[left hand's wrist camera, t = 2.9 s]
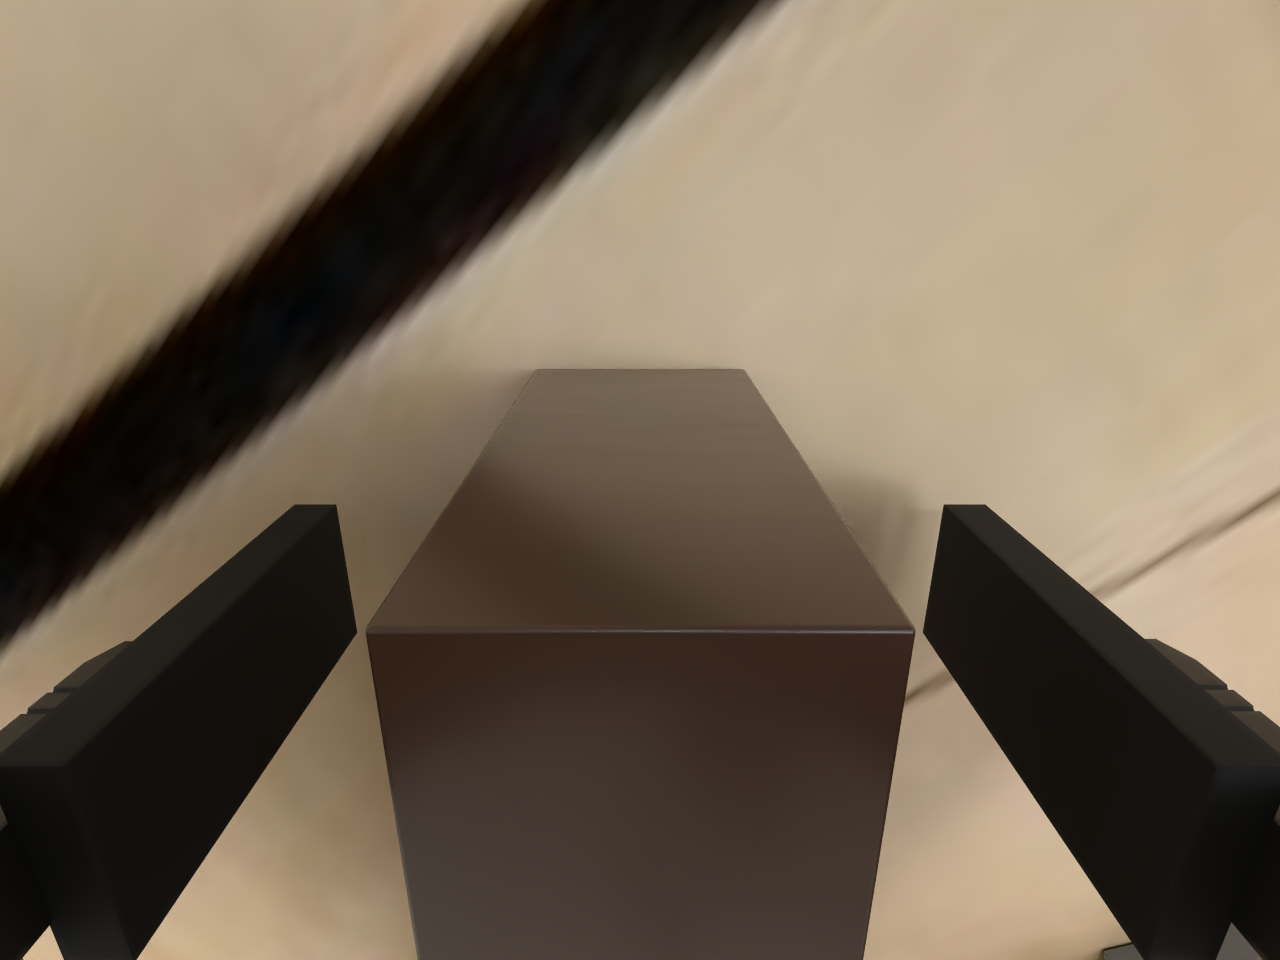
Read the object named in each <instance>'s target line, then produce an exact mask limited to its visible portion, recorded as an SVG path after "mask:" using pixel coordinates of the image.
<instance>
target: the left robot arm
mask: <svg viewBox="0 0 1280 960" xmlns="http://www.w3.org/2000/svg"><path fill="white" fill-rule="evenodd" d="M356 633H357V629H356V623H355V616H354V610H353V604H352V598H351V592H350V586H349V580H348V574H347V568H346V562H345V555H344V549H343V543H342V537H341V531H340V525H339V519H338V513H337V507H336V505H294V506H293V507H291V508H290V509H289V510H288V511H287V512H285V513H284V514H283V515H282V516H281V517H280V518H278V519H277V520H276V521H275V522H274V523H272V524H271V525H270V526H269V527H268V528H267V529H265V530H264V531H263V532H262V533H261V534H259V535H258V536H257V537H256V538H255V539H254V540H252V541H251V542H250V543H249V544H248V545H246V546H245V547H244V548H243V549H242V550H240V551H239V552H238V553H237V554H236V555H235V556H233V557H232V558H231V559H230V560H229V561H227V562H226V563H225V564H224V565H223V566H222V567H220V568H219V569H218V570H217V571H216V572H214V573H213V574H212V575H211V576H210V577H209V578H207V579H206V580H205V581H204V582H203V583H201V584H200V585H199V586H198V587H197V588H195V589H194V590H193V591H192V592H191V593H190V594H188V595H187V596H186V597H185V598H184V599H182V600H181V601H180V602H179V603H178V604H177V605H175V606H174V607H173V608H172V609H171V610H169V611H168V612H167V613H166V614H165V615H164V616H162V617H161V618H160V619H159V620H158V621H156V622H155V623H154V624H153V625H152V626H150V627H149V628H148V629H147V630H146V631H145V632H143V633H142V634H141V635H140V636H139V637H137V638H136V639H135V640H134V641H125V642H123V643H121V644H119V645H117V646H115V647H113V648H112V649H110V650H108V651H106V652H104V653H102V654H100V655H98V656H96V657H94V658H92V659H91V660H89V661H87V662H85V663H84V664H82V665H81V666H80V667H79V668H77V669H76V670H75V671H74V672H72V673H71V674H70V675H69V676H67V677H66V678H65V679H64V680H62V681H61V682H60V683H59V684H58V685H56V686H55V687H54V691H53V693H46V694H45V695H44V696H43V697H41V698H40V699H39V700H38V701H37V702H35V703H34V704H33V705H32V706H30V707H29V708H28V712H27V714H20V715H19V716H18V717H17V718H16V719H14V720H13V721H12V722H11V723H9V724H8V725H7V726H6V727H4V728H3V729H2V730H1V731H0V960H23V957H24V955H25V954H26V953H27V952H28V951H29V949H30V948H31V947H32V946H33V945H34V943H35V942H36V941H37V940H38V938H39V937H40V936H41V935H42V934H43V932H44V931H45V930H46V929H47V928H48V926H49V925H50V927H51V929H52V932H53V934H54V937H55V939H56V941H57V944H58V946H59V949H60V951H61V954H62V956H63V958H64V960H137V958H138V957H139V955H140V954H141V952H142V951H143V949H144V948H145V946H146V945H147V943H148V942H149V940H150V939H151V937H152V936H153V934H154V933H155V931H156V930H157V928H158V927H159V926H160V924H161V923H162V921H163V920H164V918H165V917H166V915H167V914H168V912H169V911H170V909H171V908H172V906H173V905H174V903H175V902H176V900H177V899H178V897H179V896H180V894H181V893H182V891H183V890H184V888H185V887H186V886H187V884H188V883H189V881H190V880H191V878H192V877H193V875H194V874H195V872H196V871H197V869H198V868H199V866H200V865H201V863H202V862H203V860H204V859H205V857H206V856H207V854H208V853H209V851H210V850H211V848H212V847H213V845H214V844H215V843H216V841H217V840H218V838H219V837H220V835H221V834H222V832H223V831H224V829H225V828H226V826H227V825H228V823H229V822H230V820H231V819H232V817H233V816H234V814H235V813H236V811H237V810H238V808H239V807H240V805H241V804H242V802H243V801H244V800H245V798H246V797H247V795H248V794H249V792H250V791H251V789H252V788H253V786H254V785H255V783H256V782H257V780H258V779H259V777H260V776H261V774H262V773H263V771H264V770H265V768H266V767H267V765H268V764H269V762H270V761H271V759H272V758H273V757H274V755H275V754H276V752H277V751H278V749H279V748H280V746H281V745H282V743H283V742H284V740H285V739H286V737H287V736H288V734H289V733H290V731H291V730H292V728H293V727H294V725H295V724H296V722H297V721H298V719H299V718H300V716H301V715H302V714H303V712H304V711H305V709H306V708H307V706H308V705H309V703H310V702H311V700H312V699H313V697H314V696H315V694H316V693H317V691H318V690H319V688H320V687H321V685H322V684H323V682H324V681H325V679H326V678H327V676H328V675H329V673H330V672H331V671H332V669H333V668H334V666H335V665H336V663H337V662H338V660H339V659H340V657H341V656H342V654H343V653H344V651H345V650H346V648H347V647H348V645H349V644H350V642H351V641H352V639H353V638H354V636H355V635H356ZM923 633H924V635H925V636H926V638H927V639H928V641H929V642H930V644H931V645H932V647H933V648H934V650H935V651H936V653H937V654H938V656H939V657H940V659H941V660H942V662H943V663H944V665H945V666H946V668H947V669H948V670H949V672H950V673H951V675H952V676H953V678H954V679H955V681H956V682H957V684H958V685H959V687H960V688H961V690H962V691H963V693H964V694H965V696H966V697H967V699H968V700H969V702H970V703H971V705H972V706H973V708H974V709H975V711H976V712H977V713H978V715H979V716H980V718H981V719H982V721H983V722H984V724H985V725H986V727H987V728H988V730H989V731H990V733H991V734H992V736H993V737H994V739H995V740H996V742H997V743H998V745H999V746H1000V748H1001V749H1002V751H1003V752H1004V754H1005V755H1006V756H1007V758H1008V759H1009V761H1010V762H1011V764H1012V765H1013V767H1014V768H1015V770H1016V771H1017V773H1018V774H1019V776H1020V777H1021V779H1022V780H1023V782H1024V783H1025V785H1026V786H1027V788H1028V789H1029V791H1030V792H1031V794H1032V795H1033V797H1034V798H1035V799H1036V801H1037V802H1038V804H1039V805H1040V807H1041V808H1042V810H1043V811H1044V813H1045V814H1046V816H1047V817H1048V819H1049V820H1050V822H1051V823H1052V825H1053V826H1054V828H1055V829H1056V831H1057V832H1058V834H1059V835H1060V837H1061V838H1062V840H1063V841H1064V842H1065V844H1066V845H1067V847H1068V848H1069V850H1070V851H1071V853H1072V854H1073V856H1074V857H1075V859H1076V860H1077V862H1078V863H1079V865H1080V866H1081V868H1082V869H1083V871H1084V872H1085V874H1086V875H1087V877H1088V878H1089V880H1090V881H1091V883H1092V884H1093V885H1094V887H1095V888H1096V890H1097V891H1098V893H1099V894H1100V896H1101V897H1102V899H1103V900H1104V902H1105V903H1106V905H1107V906H1108V908H1109V909H1110V911H1111V912H1112V914H1113V915H1114V917H1115V918H1116V920H1117V921H1118V923H1119V924H1120V926H1121V927H1122V928H1123V930H1124V931H1125V933H1126V934H1127V936H1128V937H1129V939H1130V940H1131V942H1132V943H1133V945H1134V946H1135V948H1136V949H1137V951H1138V952H1139V954H1140V955H1141V957H1142V958H1143V960H1216V958H1217V956H1218V954H1219V951H1220V949H1221V946H1222V944H1223V941H1224V939H1225V937H1226V934H1227V932H1228V929H1229V927H1230V924H1231V922H1232V924H1233V925H1234V926H1235V927H1236V928H1237V930H1238V931H1239V932H1240V933H1241V934H1242V936H1243V937H1244V938H1245V939H1246V940H1247V942H1248V943H1249V944H1250V945H1251V946H1252V948H1253V949H1254V950H1255V951H1256V952H1257V954H1258V955H1259V956H1258V958H1257V960H1280V727H1279V726H1278V725H1276V724H1275V723H1274V722H1273V721H1271V720H1270V719H1269V718H1268V717H1266V716H1265V715H1264V714H1263V713H1261V712H1260V711H1254V709H1253V705H1252V704H1250V703H1249V702H1248V701H1247V700H1245V699H1244V698H1243V697H1242V696H1240V695H1239V694H1238V693H1237V692H1235V691H1234V690H1228V688H1227V684H1225V683H1224V682H1223V681H1222V680H1220V679H1219V678H1218V677H1217V676H1215V675H1214V674H1213V673H1212V672H1210V671H1209V670H1208V669H1207V668H1205V667H1204V666H1203V665H1202V664H1200V663H1199V662H1198V661H1197V660H1195V659H1193V658H1191V657H1189V656H1187V655H1186V654H1184V653H1182V652H1180V651H1178V650H1176V649H1174V648H1172V647H1170V646H1168V645H1166V644H1164V643H1162V642H1161V641H1159V640H1157V639H1144V638H1143V637H1141V636H1140V635H1139V634H1138V633H1137V632H1135V631H1134V630H1133V629H1132V628H1131V627H1130V626H1128V625H1127V624H1126V623H1125V622H1124V621H1122V620H1121V619H1120V618H1119V617H1118V616H1116V615H1115V614H1114V613H1113V612H1112V611H1111V610H1109V609H1108V608H1107V607H1106V606H1105V605H1103V604H1102V603H1101V602H1100V601H1099V600H1098V599H1096V598H1095V597H1094V596H1093V595H1092V594H1090V593H1089V592H1088V591H1087V590H1086V589H1085V588H1083V587H1082V586H1081V585H1080V584H1079V583H1077V582H1076V581H1075V580H1074V579H1073V578H1071V577H1070V576H1069V575H1068V574H1067V573H1066V572H1064V571H1063V570H1062V569H1061V568H1060V567H1058V566H1057V565H1056V564H1055V563H1054V562H1053V561H1051V560H1050V559H1049V558H1048V557H1047V556H1045V555H1044V554H1043V553H1042V552H1041V551H1040V550H1038V549H1037V548H1036V547H1035V546H1034V545H1032V544H1031V543H1030V542H1029V541H1028V540H1027V539H1025V538H1024V537H1023V536H1022V535H1021V534H1019V533H1018V532H1017V531H1016V530H1015V529H1013V528H1012V527H1011V526H1010V525H1009V524H1008V523H1006V522H1005V521H1004V520H1003V519H1002V518H1000V517H999V516H998V515H997V514H996V513H995V512H993V511H992V510H991V509H990V508H989V507H987V506H986V505H944V507H943V513H942V519H941V525H940V531H939V537H938V543H937V549H936V556H935V562H934V568H933V574H932V580H931V586H930V592H929V598H928V604H927V610H926V617H925V623H924V629H923Z"/></svg>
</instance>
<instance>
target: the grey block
mask: <svg viewBox="0 0 1280 960" xmlns="http://www.w3.org/2000/svg"><path fill="white" fill-rule="evenodd" d="M1103 954H1104V959H1105V960H1143V958H1142V957H1141V955H1140V954H1139V952H1138V951H1137V949H1136V948H1135V946H1134V945H1133V944H1131V945H1127V946H1122V947H1118V948H1114V949H1110V950H1105V951H1104V952H1103ZM1258 956H1259V955H1258V954H1257V952H1256V951H1255V950H1254V949H1253V948H1252V946H1251V945H1250V944H1249V943H1248V942H1247V940H1246V939H1245V938H1244V937H1243V936H1242V934H1241V933H1240V932H1239V931H1238V930H1237V928H1236V927H1235V926H1234V925H1233V924H1232V922H1231V924H1230V927H1229V929H1228V932H1227V934H1226V937H1225V939H1224V941H1223V944H1222V946H1221V949H1220V951H1219V954H1218V956H1217V958H1216V960H1257V958H1258Z"/></svg>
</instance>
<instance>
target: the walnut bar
mask: <svg viewBox="0 0 1280 960" xmlns="http://www.w3.org/2000/svg"><path fill="white" fill-rule="evenodd" d="M366 637H367V643H368V650H369V656H370V662H371V668H372V675H373V681H374V687H375V693H376V700H377V706H378V712H379V718H380V725H381V731H382V737H383V744H384V750H385V756H386V762H387V769H388V775H389V781H390V787H391V794H392V800H393V806H394V813H395V819H396V825H397V831H398V838H399V844H400V850H401V856H402V863H403V869H404V875H405V882H406V888H407V894H408V900H409V907H410V913H411V919H412V925H413V932H414V938H415V944H416V951H417V957H418V960H863V956H864V950H865V944H866V937H867V931H868V925H869V919H870V912H871V906H872V900H873V894H874V887H875V881H876V875H877V869H878V862H879V856H880V850H881V844H882V837H883V831H884V825H885V819H886V812H887V806H888V800H889V794H890V787H891V781H892V775H893V769H894V762H895V756H896V750H897V744H898V737H899V731H900V725H901V719H902V712H903V706H904V700H905V694H906V687H907V681H908V675H909V669H910V662H911V656H912V650H913V644H914V637H915V628H914V626H913V624H912V623H911V621H910V620H909V618H908V617H907V615H906V614H905V612H904V611H903V609H902V608H901V606H900V605H899V603H898V602H897V600H896V599H895V597H894V596H893V594H892V593H891V591H890V590H889V588H888V587H887V585H886V583H885V582H884V580H883V579H882V577H881V576H880V574H879V573H878V571H877V570H876V568H875V567H874V565H873V564H872V562H871V561H870V559H869V558H868V556H867V555H866V553H865V552H864V550H863V549H862V547H861V546H860V544H859V543H858V541H857V540H856V538H855V537H854V535H853V534H852V532H851V531H850V529H849V527H848V526H847V524H846V523H845V521H844V520H843V518H842V517H841V515H840V514H839V512H838V511H837V509H836V508H835V506H834V505H833V503H832V502H831V500H830V499H829V497H828V496H827V494H826V493H825V491H824V490H823V488H822V487H821V485H820V484H819V482H818V481H817V479H816V478H815V476H814V475H813V473H812V471H811V470H810V468H809V467H808V465H807V464H806V462H805V461H804V459H803V458H802V456H801V455H800V453H799V452H798V450H797V449H796V447H795V446H794V444H793V443H792V441H791V440H790V438H789V437H788V435H787V434H786V432H785V431H784V429H783V428H782V426H781V425H780V423H779V422H778V420H777V419H776V417H775V416H774V414H773V412H772V411H771V409H770V408H769V406H768V405H767V403H766V402H765V400H764V399H763V397H762V396H761V394H760V393H759V391H758V390H757V388H756V387H755V385H754V384H753V382H752V381H751V379H750V378H749V376H748V375H747V373H746V372H745V370H536V371H535V373H534V374H533V376H532V377H531V379H530V380H529V382H528V383H527V385H526V386H525V388H524V389H523V391H522V392H521V394H520V395H519V397H518V398H517V400H516V401H515V403H514V405H513V406H512V408H511V409H510V411H509V412H508V414H507V415H506V417H505V418H504V420H503V421H502V423H501V424H500V426H499V427H498V429H497V430H496V432H495V433H494V435H493V436H492V438H491V439H490V441H489V442H488V444H487V445H486V447H485V448H484V450H483V451H482V453H481V455H480V456H479V458H478V459H477V461H476V462H475V464H474V465H473V467H472V468H471V470H470V471H469V473H468V474H467V476H466V477H465V479H464V480H463V482H462V483H461V485H460V486H459V488H458V489H457V491H456V492H455V494H454V495H453V497H452V498H451V500H450V502H449V503H448V505H447V506H446V508H445V509H444V511H443V512H442V514H441V515H440V517H439V518H438V520H437V521H436V523H435V524H434V526H433V527H432V529H431V530H430V532H429V533H428V535H427V536H426V538H425V539H424V541H423V542H422V544H421V545H420V547H419V549H418V550H417V552H416V553H415V555H414V556H413V558H412V559H411V561H410V562H409V564H408V565H407V567H406V568H405V570H404V571H403V573H402V574H401V576H400V577H399V579H398V580H397V582H396V583H395V585H394V586H393V588H392V589H391V591H390V592H389V594H388V596H387V597H386V599H385V600H384V602H383V603H382V605H381V606H380V608H379V609H378V611H377V612H376V614H375V615H374V617H373V618H372V620H371V621H370V623H369V624H368V626H367V628H366Z"/></svg>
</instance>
